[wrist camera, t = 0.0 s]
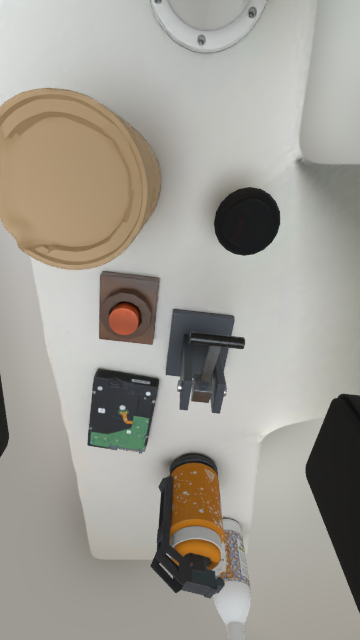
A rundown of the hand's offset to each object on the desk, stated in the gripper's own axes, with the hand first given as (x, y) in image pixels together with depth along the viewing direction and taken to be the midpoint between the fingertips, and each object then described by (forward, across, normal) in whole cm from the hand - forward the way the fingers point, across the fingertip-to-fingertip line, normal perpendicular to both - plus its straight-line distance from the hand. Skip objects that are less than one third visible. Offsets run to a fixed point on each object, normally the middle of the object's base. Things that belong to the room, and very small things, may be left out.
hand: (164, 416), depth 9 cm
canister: (+37, -7, +45) cm, 59 cm away
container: (+37, +9, -4) cm, 38 cm away
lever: (+25, -5, +13) cm, 29 cm away
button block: (+37, +6, +13) cm, 40 cm away
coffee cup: (+37, -7, -2) cm, 38 cm away
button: (+34, +6, +13) cm, 37 cm away
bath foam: (+37, -17, +62) cm, 74 cm away
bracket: (+37, -5, +18) cm, 41 cm away
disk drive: (+37, +6, +32) cm, 49 cm away
